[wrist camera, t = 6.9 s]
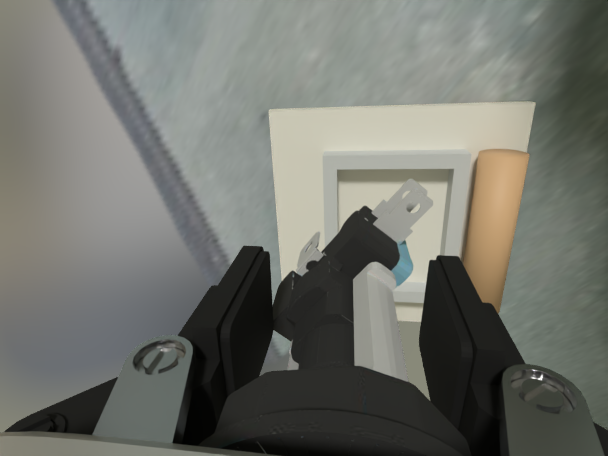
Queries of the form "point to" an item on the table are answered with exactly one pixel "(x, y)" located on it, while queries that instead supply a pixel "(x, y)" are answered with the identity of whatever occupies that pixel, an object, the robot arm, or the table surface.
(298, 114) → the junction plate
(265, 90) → the table surface
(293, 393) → the push button
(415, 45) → the table surface
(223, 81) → the table surface
